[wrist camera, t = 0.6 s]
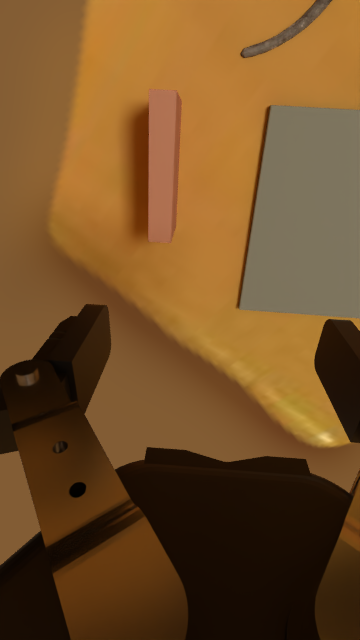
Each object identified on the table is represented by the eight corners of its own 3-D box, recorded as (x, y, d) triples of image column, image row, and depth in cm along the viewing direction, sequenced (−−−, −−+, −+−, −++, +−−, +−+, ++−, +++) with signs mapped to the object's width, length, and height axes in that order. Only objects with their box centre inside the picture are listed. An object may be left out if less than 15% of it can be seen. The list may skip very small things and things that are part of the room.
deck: (159, 99, 26) (149, 88, 21) (181, 101, 26) (176, 90, 21) (157, 225, 31) (148, 241, 26) (175, 226, 31) (170, 243, 26)
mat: (269, 106, 26) (271, 105, 25) (447, 115, 26) (452, 115, 25) (238, 306, 35) (239, 309, 34) (371, 316, 34) (374, 319, 34)
